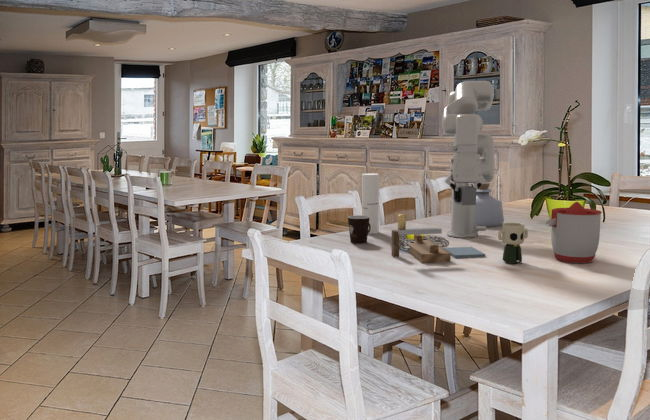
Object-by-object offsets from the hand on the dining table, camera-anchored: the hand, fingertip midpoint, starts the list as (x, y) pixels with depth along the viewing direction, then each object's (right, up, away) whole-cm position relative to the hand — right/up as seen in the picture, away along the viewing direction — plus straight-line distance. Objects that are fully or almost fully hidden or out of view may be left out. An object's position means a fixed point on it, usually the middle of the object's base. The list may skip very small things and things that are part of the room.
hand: (464, 201), depth 217 cm
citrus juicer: (+34, -20, -9) cm, 41 cm away
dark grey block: (0, -1, 0) cm, 1 cm away
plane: (-17, -19, 0) cm, 26 cm away
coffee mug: (-36, -16, +24) cm, 46 cm away
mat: (0, -19, +3) cm, 19 cm away
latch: (-18, -11, -9) cm, 23 cm away
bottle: (+23, -10, +67) cm, 71 cm away
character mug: (+13, -21, -11) cm, 27 cm away
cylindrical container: (-30, -13, +47) cm, 57 cm away
